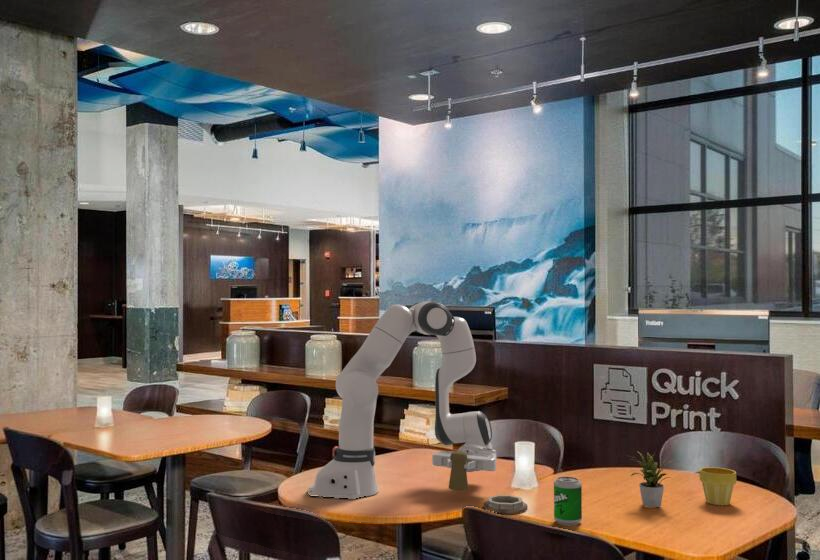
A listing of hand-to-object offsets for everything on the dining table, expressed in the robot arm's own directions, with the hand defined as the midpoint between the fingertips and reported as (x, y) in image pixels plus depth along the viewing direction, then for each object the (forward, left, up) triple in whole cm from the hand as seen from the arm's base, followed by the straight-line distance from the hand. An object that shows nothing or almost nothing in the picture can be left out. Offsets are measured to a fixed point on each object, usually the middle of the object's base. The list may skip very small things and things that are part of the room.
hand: (457, 465), depth 233 cm
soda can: (+30, -21, -11) cm, 38 cm away
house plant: (+57, -2, -11) cm, 58 cm away
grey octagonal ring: (+14, -7, -11) cm, 19 cm away
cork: (0, +1, -7) cm, 7 cm away
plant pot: (+79, +1, -11) cm, 79 cm away
